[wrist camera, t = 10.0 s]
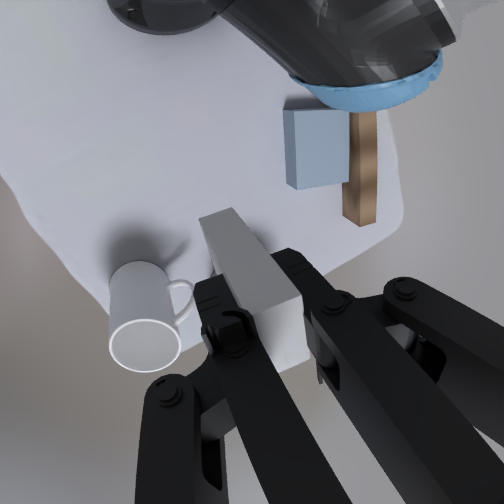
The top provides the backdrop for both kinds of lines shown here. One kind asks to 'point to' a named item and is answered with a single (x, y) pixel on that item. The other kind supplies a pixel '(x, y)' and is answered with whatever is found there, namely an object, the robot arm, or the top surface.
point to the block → (316, 147)
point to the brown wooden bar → (361, 170)
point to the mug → (144, 317)
